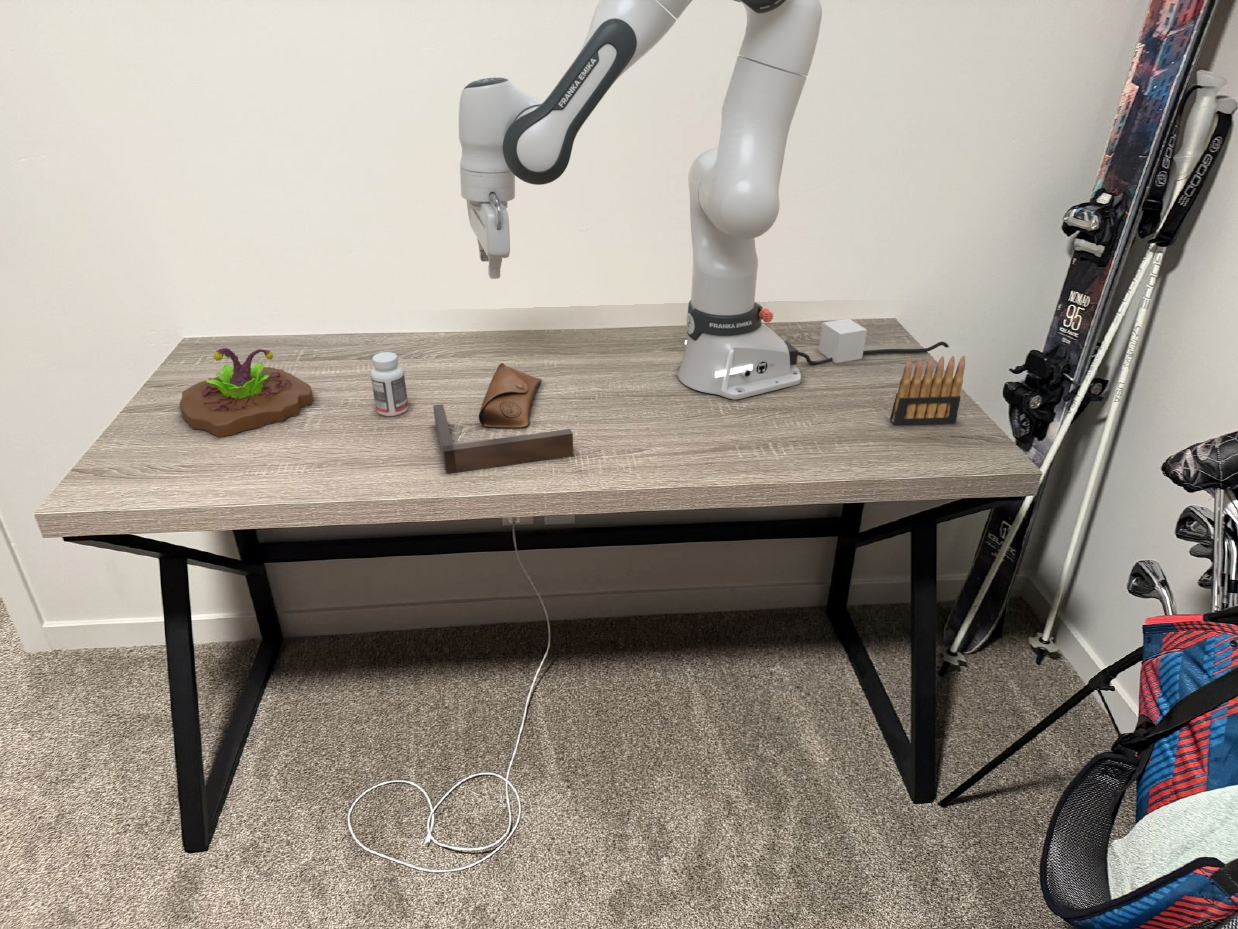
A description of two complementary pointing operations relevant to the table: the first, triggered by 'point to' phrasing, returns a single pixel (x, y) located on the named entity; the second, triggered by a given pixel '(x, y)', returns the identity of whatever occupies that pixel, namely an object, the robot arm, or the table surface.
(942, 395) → the ammunition clip
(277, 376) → the plant
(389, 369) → the pill bottle
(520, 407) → the sunglasses case
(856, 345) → the white cube
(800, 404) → the table surface
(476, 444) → the bracket
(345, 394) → the table surface
